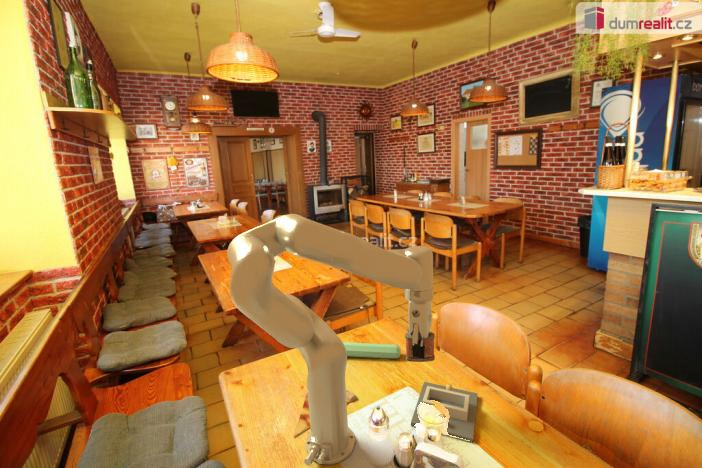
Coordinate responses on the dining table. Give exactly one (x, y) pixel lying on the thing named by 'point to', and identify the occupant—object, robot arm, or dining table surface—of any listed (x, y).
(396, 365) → the dining table surface
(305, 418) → the pizza slice
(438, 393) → the holder
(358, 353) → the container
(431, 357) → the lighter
